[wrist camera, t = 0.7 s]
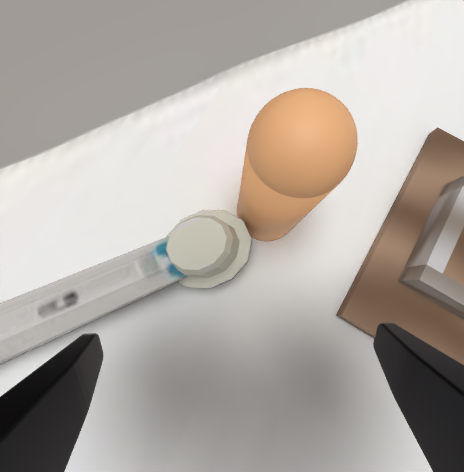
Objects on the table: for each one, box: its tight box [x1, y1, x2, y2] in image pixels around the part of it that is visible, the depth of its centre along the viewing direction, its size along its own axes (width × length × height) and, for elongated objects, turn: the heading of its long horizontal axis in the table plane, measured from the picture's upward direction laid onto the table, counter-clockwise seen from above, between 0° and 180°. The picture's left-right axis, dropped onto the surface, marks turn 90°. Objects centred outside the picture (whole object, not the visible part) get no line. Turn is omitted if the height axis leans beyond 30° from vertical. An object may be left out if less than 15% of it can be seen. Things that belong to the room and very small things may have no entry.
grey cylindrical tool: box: [0, 210, 252, 364], centre depth 20 cm, size 5×7×25 cm
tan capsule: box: [237, 88, 358, 241], centre depth 17 cm, size 5×5×13 cm
